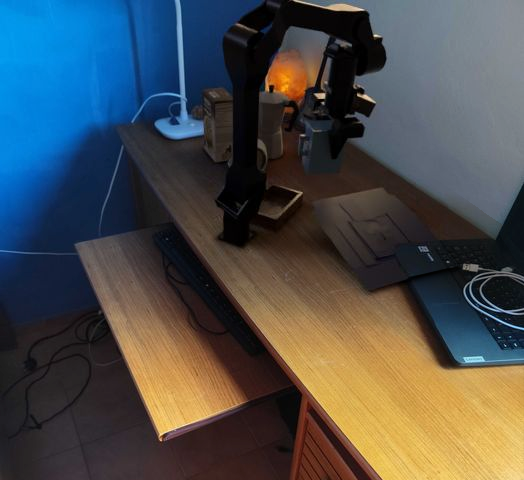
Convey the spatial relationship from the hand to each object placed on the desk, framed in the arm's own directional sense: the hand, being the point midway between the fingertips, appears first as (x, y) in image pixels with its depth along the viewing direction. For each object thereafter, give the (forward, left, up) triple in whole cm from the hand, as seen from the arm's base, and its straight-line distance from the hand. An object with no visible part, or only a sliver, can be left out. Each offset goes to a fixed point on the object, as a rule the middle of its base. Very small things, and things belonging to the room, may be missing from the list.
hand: (329, 153), depth 109 cm
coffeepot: (+17, +23, -13) cm, 32 cm away
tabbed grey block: (-1, +1, -4) cm, 4 cm away
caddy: (-11, +8, -12) cm, 19 cm away
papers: (-9, -18, -13) cm, 24 cm away
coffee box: (+8, +35, -13) cm, 39 cm away
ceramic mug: (+5, +24, -13) cm, 28 cm away
